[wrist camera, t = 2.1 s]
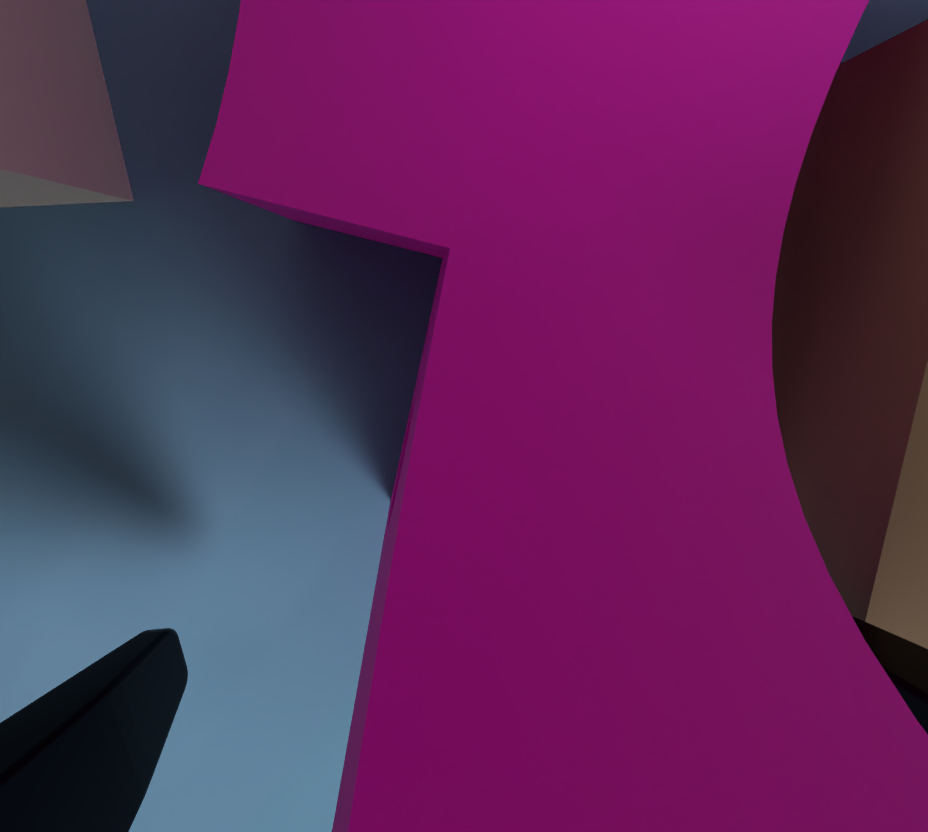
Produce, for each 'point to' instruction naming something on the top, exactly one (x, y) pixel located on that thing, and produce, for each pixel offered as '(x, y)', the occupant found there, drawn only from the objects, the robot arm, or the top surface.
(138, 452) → the top surface
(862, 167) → the walnut plinth
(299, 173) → the toy block
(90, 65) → the cream cube
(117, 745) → the robot arm
